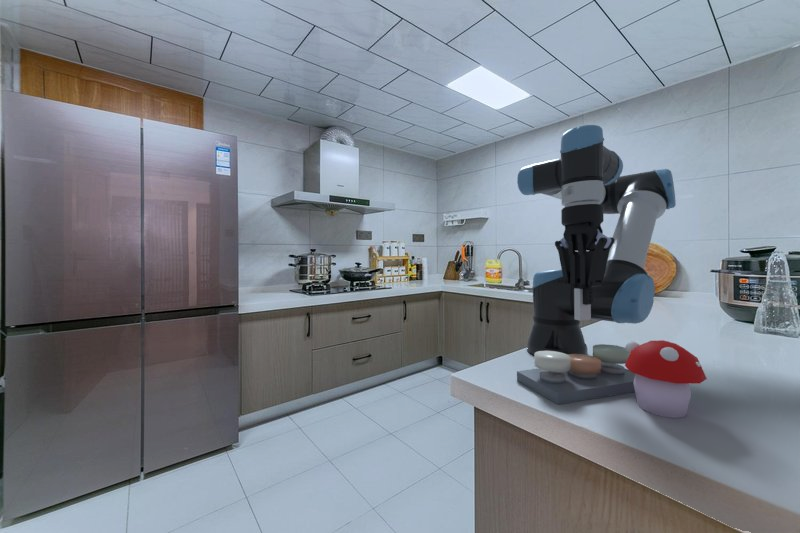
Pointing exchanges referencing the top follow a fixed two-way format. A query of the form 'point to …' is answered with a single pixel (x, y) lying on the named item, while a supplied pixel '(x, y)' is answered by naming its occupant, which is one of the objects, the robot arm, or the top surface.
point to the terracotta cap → (585, 364)
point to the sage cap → (611, 353)
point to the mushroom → (663, 376)
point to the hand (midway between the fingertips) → (582, 319)
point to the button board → (579, 383)
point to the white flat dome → (552, 361)
